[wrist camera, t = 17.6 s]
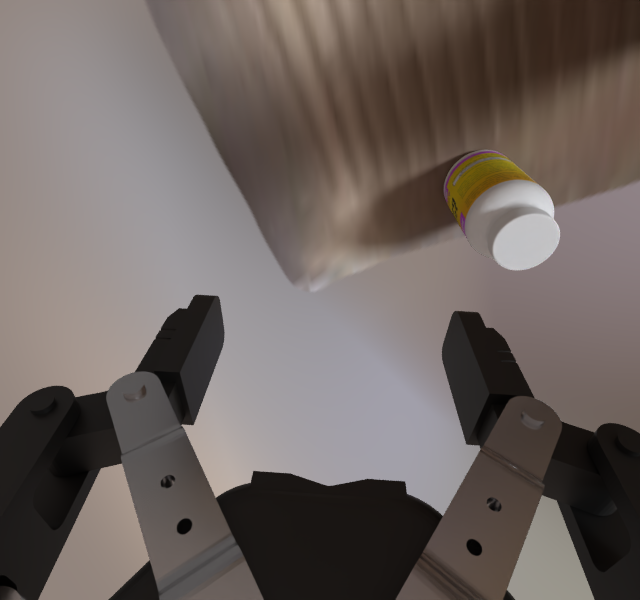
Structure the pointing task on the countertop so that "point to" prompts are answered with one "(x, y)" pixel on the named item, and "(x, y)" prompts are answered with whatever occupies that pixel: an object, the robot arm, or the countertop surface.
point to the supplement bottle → (501, 210)
